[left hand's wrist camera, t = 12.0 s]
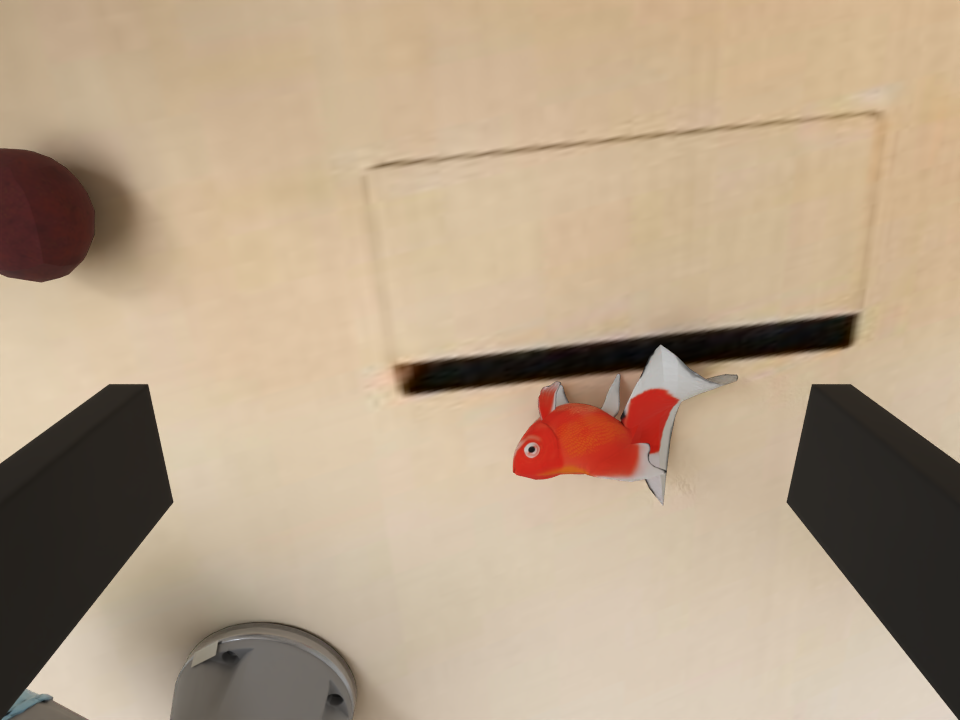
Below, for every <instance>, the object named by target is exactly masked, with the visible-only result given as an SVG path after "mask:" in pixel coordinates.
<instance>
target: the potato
mask: <svg viewBox="0 0 960 720" xmlns="http://www.w3.org/2000/svg"><path fill="white" fill-rule="evenodd" d="M94 226H95V210H94V208H93V206H92V203H91V201H90V198H89V196H88V193H87V192H86V191H85V189H84V188H83V186H82V185H81V183H80V182H79V181H78V179H77V178H76V177H75V176H74V175H73V174H72V173H71V172H70V171H69V170H68V169H67V168H66V167H64V166H63V165H61V164H59V163H58V162H56V161H55V160H53V159H52V158H50V157H47V156H44V155H41V154H39V153H36V152H32V151H28V150H19V149H1V148H0V274H1V275H4V276H6V277H10V278H17V279H23V280H29V281H36V282H45V281H49V280H53V279H57V278H61V277H63V276H66V275H68V274H70V273H71V272H72V271H73V270H74V269H75V268H76V267H77V266H78V265H79V264H80V263H81V262H82V261H83V260H84V258H85V256H86V254H87V252H88V249H89V247H90V244H91V242H92V239H93V237H94Z"/></svg>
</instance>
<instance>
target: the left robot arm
mask: <svg viewBox="0 0 960 720" xmlns="http://www.w3.org/2000/svg"><path fill="white" fill-rule="evenodd" d="M172 503H173V498H172V494H171V489H170V484H169V480H168V475H167V470H166V466H165V461H164V456H163V452H162V447H161V442H160V438H159V433H158V429H157V424H156V419H155V415H154V410H153V405H152V401H151V396H150V391H149V387H148V384H109V385H108V386H106V387H105V388H104V389H102V390H101V391H99V392H98V393H97V394H95V395H94V396H93V397H91V398H90V399H88V400H87V401H86V402H84V403H83V404H82V405H80V406H79V407H77V408H76V409H75V410H73V411H72V412H71V413H69V414H68V415H66V416H65V417H64V418H62V419H61V420H60V421H58V422H57V423H55V424H54V425H53V426H51V427H50V428H49V429H47V430H46V431H44V432H43V433H42V434H40V435H39V436H38V437H36V438H35V439H34V440H32V441H31V442H29V443H28V444H27V445H25V446H24V447H23V448H21V449H20V450H18V451H17V452H16V453H14V454H13V455H12V456H10V457H9V458H7V459H6V460H5V461H3V462H2V463H1V464H0V720H88V719H86V718H84V717H82V716H81V715H79V714H77V713H75V712H73V711H71V710H70V709H68V708H66V707H64V706H62V705H60V704H58V703H57V702H55V701H53V697H52V696H50V695H48V694H41V695H39V694H36V693H34V692H32V691H30V690H28V689H26V688H27V687H28V686H29V684H30V683H31V682H32V680H33V679H34V678H35V677H36V675H37V674H38V673H39V672H40V670H41V669H42V668H43V667H44V665H45V664H46V663H47V661H48V660H49V659H50V658H51V656H52V655H53V654H54V653H55V651H56V650H57V649H58V648H59V646H60V645H61V644H62V642H63V641H64V640H65V639H66V637H67V636H68V635H69V634H70V632H71V631H72V630H73V629H74V627H75V626H76V625H77V624H78V622H79V621H80V620H81V618H82V617H83V616H84V615H85V613H86V612H87V611H88V610H89V608H90V607H91V606H92V605H93V603H94V602H95V601H96V599H97V598H98V597H99V596H100V594H101V593H102V592H103V591H104V589H105V588H106V587H107V586H108V584H109V583H110V582H111V581H112V579H113V578H114V577H115V575H116V574H117V573H118V572H119V570H120V569H121V568H122V567H123V565H124V564H125V563H126V562H127V560H128V559H129V558H130V556H131V555H132V554H133V553H134V551H135V550H136V549H137V548H138V546H139V545H140V544H141V543H142V541H143V540H144V539H145V537H146V536H147V535H148V534H149V532H150V531H151V530H152V529H153V527H154V526H155V525H156V524H157V522H158V521H159V520H160V519H161V517H162V516H163V515H164V513H165V512H166V511H167V510H168V508H169V507H170V506H171V505H172ZM787 503H788V505H789V506H790V507H791V508H792V510H793V511H794V512H795V513H796V515H797V516H798V517H799V519H800V520H801V521H802V522H803V524H804V525H805V526H806V527H807V529H808V530H809V531H810V532H811V534H812V535H813V536H814V537H815V539H816V540H817V541H818V543H819V544H820V545H821V546H822V548H823V549H824V550H825V551H826V553H827V554H828V555H829V556H830V558H831V559H832V560H833V562H834V563H835V564H836V565H837V567H838V568H839V569H840V570H841V572H842V573H843V574H844V575H845V577H846V578H847V579H848V581H849V582H850V583H851V584H852V586H853V587H854V588H855V589H856V591H857V592H858V593H859V594H860V596H861V597H862V598H863V599H864V601H865V602H866V603H867V605H868V606H869V607H870V608H871V610H872V611H873V612H874V613H875V615H876V616H877V617H878V618H879V620H880V621H881V622H882V624H883V625H884V626H885V627H886V629H887V630H888V631H889V632H890V634H891V635H892V636H893V637H894V639H895V640H896V641H897V642H898V644H899V645H900V646H901V648H902V649H903V650H904V651H905V653H906V654H907V655H908V656H909V658H910V659H911V660H912V661H913V663H914V664H915V665H916V667H917V668H918V669H919V670H920V672H921V673H922V674H923V675H924V677H925V678H926V679H927V680H928V682H929V683H930V684H931V686H932V687H933V688H934V689H935V691H936V692H937V693H938V694H939V696H940V697H941V698H942V699H943V701H944V702H945V703H946V704H947V706H948V707H949V708H950V710H951V711H952V712H953V713H954V715H955V716H956V717H957V718H958V720H960V464H959V463H958V462H957V461H955V460H954V459H953V458H951V457H950V456H948V455H947V454H946V453H944V452H943V451H942V450H940V449H939V448H937V447H936V446H935V445H933V444H932V443H931V442H929V441H928V440H926V439H925V438H924V437H922V436H921V435H920V434H918V433H917V432H916V431H914V430H913V429H911V428H910V427H909V426H907V425H906V424H905V423H903V422H902V421H900V420H899V419H898V418H896V417H895V416H894V415H892V414H891V413H889V412H888V411H887V410H885V409H884V408H883V407H881V406H880V405H878V404H877V403H876V402H874V401H873V400H872V399H870V398H869V397H867V396H866V395H865V394H863V393H862V392H861V391H859V390H858V389H856V388H855V387H854V386H852V385H851V384H812V387H811V391H810V396H809V401H808V405H807V410H806V415H805V419H804V424H803V429H802V433H801V438H800V442H799V447H798V452H797V456H796V461H795V466H794V470H793V475H792V480H791V484H790V489H789V494H788V498H787ZM356 698H357V690H356V683H355V680H354V677H353V674H352V672H351V670H350V668H349V666H348V665H347V663H346V662H345V661H344V659H343V658H342V657H341V656H340V655H339V654H338V653H337V652H336V651H335V650H334V649H333V648H332V647H330V646H329V645H328V644H326V643H325V642H323V641H322V640H320V639H319V638H317V637H315V636H313V635H311V634H309V633H307V632H304V631H302V630H299V629H296V628H293V627H289V626H285V625H280V624H273V623H246V624H240V625H235V626H231V627H227V628H224V629H222V630H219V631H217V632H215V633H213V634H211V635H210V636H208V637H206V638H205V639H204V640H202V641H201V642H200V643H199V644H198V645H197V646H196V647H195V648H194V650H193V651H192V652H191V654H190V655H189V657H188V659H187V661H186V662H185V664H184V666H183V668H182V670H181V672H180V674H179V676H178V678H177V681H176V685H175V690H174V696H173V703H172V710H171V717H170V720H352V719H353V714H354V709H355V705H356Z"/></svg>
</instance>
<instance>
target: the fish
mask: <svg viewBox="0 0 960 720" xmlns="http://www.w3.org/2000/svg"><path fill="white" fill-rule="evenodd" d="M737 379H738V376H737V375H729V374H725V375H720V376H716V377H712V378H708V379H705V378H703V377H702V376H700V375H698V374H697V373H695V372H694V371H692V370H691V369H689V368H688V367H687V366H686V365H685V364H684V363H683V362H682V361H681V360H680V359H679V358H678V357H677V356H676V355H674V354H673V353H671V352H670V351H669V350H667V349H666V348H665V347H663V346H662V345H660V346H659V347H658V348H657V349H656V350H655V351H654V352H653V353H652V354H651V355H650V357H649V359H648V361H647V364H646V366H645V368H644V370H643V373H642V375H641V377H640V379H639V381H638V382H637V384H636V386H635V388H634V390H633V392H632V394H631V396H630V398H629V400H628V402H627V405H626V407H625V409H624V411H623V413H622V416H621V421H619V420H617V419H616V418H614V417H615V416H616V415H617V414H618V411H619V406H620V397H619V390H620V374H617V376H616V378H615V380H614V382H613V384H612V385H611V387H610V389H609V391H608V394H607V396H606V399H605V402H604V404H603V406H602V408H601V409H599V408H597V407H594V406H591V405H587V404H580V403H569V402H568V400H567V398H566V396H565V393H564V389H563V386H562V385H561V383H560V382H557V381H556V382H555V383H553V384H552V385H550V386H546V387H543V389H542V390H541V393H540V396H539V398H538V408H539V413H540V417H539V418H538V419H537V420H536V421H535V422H534V423H533V424H532V425H531V426H530V427H529V429H528V430H527V432H526V433H525V434H524V436H523V437H522V439H521V440H520V442H519V444H518V446H517V448H516V450H515V453H514V458H513V473H515V474H516V475H519V476H523V477H527V478H531V479H535V480H537V479H548V478H552V477H555V476H558V475H560V474H587V475H590V476H594V477H600V478H606V479H613V480H621V481H630V482H632V481H638V480H643V479H645V480H646V482H647V484H648V486H649V489H650V490H651V491H652V492H653V494H654V495H655V496H656V497H657V499H658V500H659V501H660V502H661V504H662V505H663V503H664V492H665V482H666V472H667V464H668V455H669V447H670V439H671V434H672V429H673V424H674V419H675V415H676V413H677V410H678V408H679V405H680V403H681V402H682V401H684V400H686V399H689V398H691V397H693V396H696V395H698V394H700V393H703V392H706V391H709V390H712V389H715V388H717V387H720V386H723V385H726V384H729V383H732V382H735V381H737Z"/></svg>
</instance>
